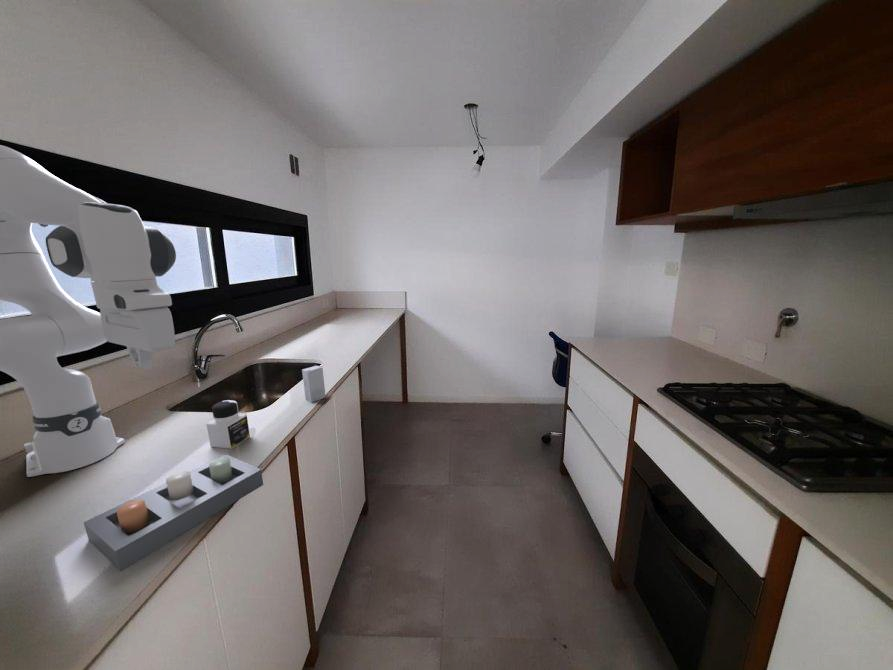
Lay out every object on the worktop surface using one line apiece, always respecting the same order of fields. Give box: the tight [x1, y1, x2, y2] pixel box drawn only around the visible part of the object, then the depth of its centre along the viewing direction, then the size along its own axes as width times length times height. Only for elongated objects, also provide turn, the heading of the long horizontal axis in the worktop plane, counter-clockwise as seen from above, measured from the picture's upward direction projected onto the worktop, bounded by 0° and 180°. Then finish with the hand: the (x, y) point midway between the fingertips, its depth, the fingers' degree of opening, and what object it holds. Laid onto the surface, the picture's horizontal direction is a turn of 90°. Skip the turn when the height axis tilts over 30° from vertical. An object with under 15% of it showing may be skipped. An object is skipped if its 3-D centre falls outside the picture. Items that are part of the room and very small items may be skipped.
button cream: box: [165, 470, 194, 500], centre depth 73 cm, size 4×4×4 cm
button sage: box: [209, 458, 233, 484], centre depth 80 cm, size 4×4×4 cm
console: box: [83, 453, 264, 572], centre depth 74 cm, size 14×26×4 cm, turn 151°
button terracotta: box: [117, 500, 149, 533], centre depth 66 cm, size 4×4×4 cm
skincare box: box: [301, 365, 327, 403], centre depth 130 cm, size 6×4×12 cm
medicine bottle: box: [206, 399, 251, 450], centre depth 100 cm, size 7×7×12 cm
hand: (144, 368), depth 67 cm, fingers closed
